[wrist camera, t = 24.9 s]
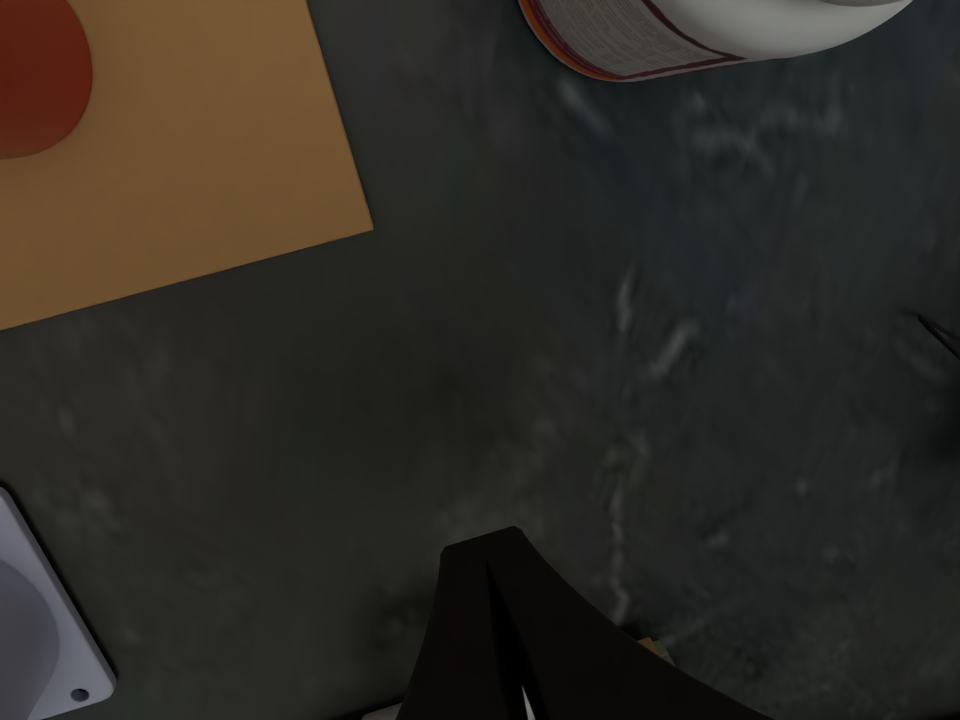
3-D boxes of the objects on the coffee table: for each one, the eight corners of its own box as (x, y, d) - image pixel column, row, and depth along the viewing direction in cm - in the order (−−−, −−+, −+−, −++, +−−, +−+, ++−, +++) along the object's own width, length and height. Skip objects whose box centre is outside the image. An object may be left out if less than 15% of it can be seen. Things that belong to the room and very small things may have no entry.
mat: (-147, 368, 17) (-158, 373, 17) (-491, -180, 13) (-516, -189, 13) (374, 227, 18) (374, 229, 18) (209, -327, 14) (204, -340, 14)
